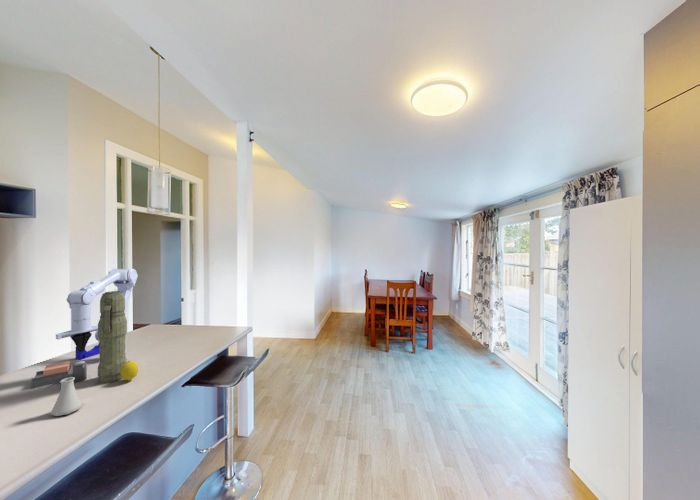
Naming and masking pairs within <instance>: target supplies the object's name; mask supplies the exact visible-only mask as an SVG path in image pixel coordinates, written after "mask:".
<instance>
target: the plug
mask: <svg viewBox="0 0 700 500" xmlns="http://www.w3.org/2000/svg"><path fill="white" fill-rule="evenodd" d="M72 366H73V375H72V377H74V378H75V379H74V383H75V384H76V383H83V382H84V381H86V380H87V379H88V378H87V377H88V373H87V369H88V368H87V367H88V364H87V361H84V360H80V361H76V362H74V364H73V365H72Z"/></svg>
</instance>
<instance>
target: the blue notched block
mask: <svg viewBox="0 0 700 500" xmlns="http://www.w3.org/2000/svg"><path fill="white" fill-rule="evenodd" d="M98 354H99V355H100V343H98V344H97V345H95V346H93V348H91V349H90V350H88V351H87V350H86V349H85V350H84V351H83V352H78V350H77V347H76V346H75V360H77V359H78V361H79V360H80V361H83V360H84V359H88V358H90V357H93V356H96V355H98Z"/></svg>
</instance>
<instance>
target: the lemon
mask: <svg viewBox="0 0 700 500" xmlns="http://www.w3.org/2000/svg"><path fill="white" fill-rule="evenodd" d="M138 373H139V364H138V363H137V362H136V361H133V360H127V362H126V363H125V364H124V365H123V366H122V368H121V371H120V374H121V377H122V378H123V379H122V380H126V381H127V382H128V381H129V382H130V381H132V379H134V378H135V377H136V376H137V375H138Z"/></svg>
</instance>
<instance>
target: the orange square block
mask: <svg viewBox="0 0 700 500" xmlns="http://www.w3.org/2000/svg"><path fill="white" fill-rule="evenodd" d="M70 362H71V361H70V360H69V361H63V362H58V363H52V364H47V365H46V366H45V367H44V369H43V370H42V371H43V376H47V375H52V374H57V373H62V372H67V371H68V370H69V367H70V365H71V364H70Z"/></svg>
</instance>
